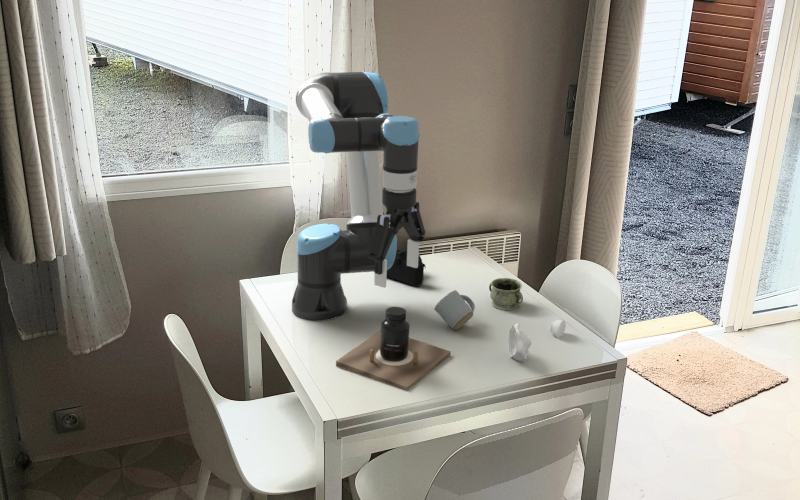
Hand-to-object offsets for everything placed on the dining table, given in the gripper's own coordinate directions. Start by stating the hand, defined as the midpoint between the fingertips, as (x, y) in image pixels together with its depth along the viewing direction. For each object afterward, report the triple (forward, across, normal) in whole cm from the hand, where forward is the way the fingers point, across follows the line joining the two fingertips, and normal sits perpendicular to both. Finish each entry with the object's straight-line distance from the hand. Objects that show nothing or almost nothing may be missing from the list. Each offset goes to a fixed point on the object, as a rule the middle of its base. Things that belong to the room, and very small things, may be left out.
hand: (396, 276), depth 180 cm
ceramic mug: (+23, +26, -3) cm, 35 cm away
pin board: (+23, 0, 0) cm, 23 cm away
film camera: (+23, +45, +25) cm, 56 cm away
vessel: (+23, +45, -8) cm, 51 cm away
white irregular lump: (+23, +35, -28) cm, 50 cm away
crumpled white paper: (+23, +18, -25) cm, 38 cm away
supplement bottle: (+21, 0, 0) cm, 21 cm away
